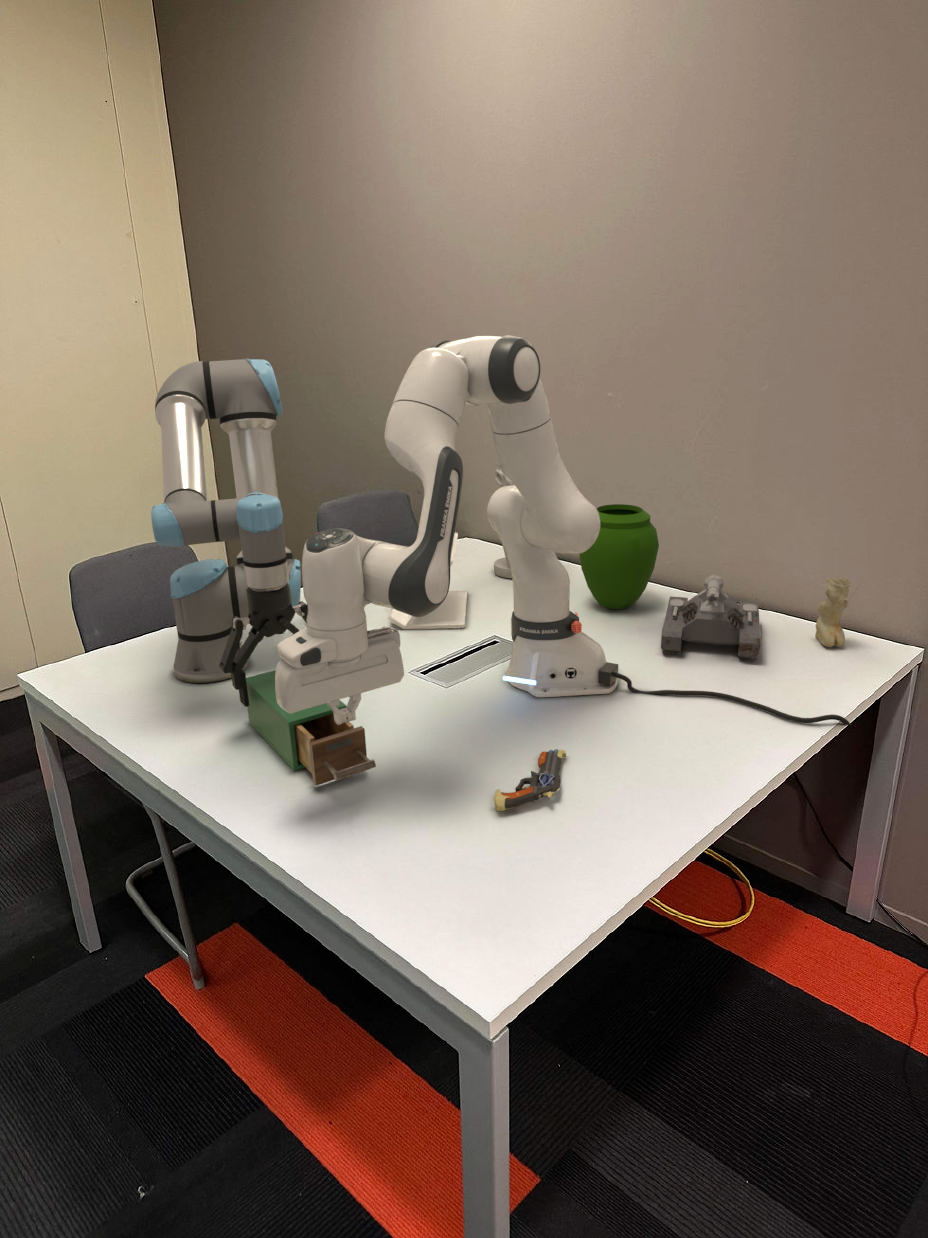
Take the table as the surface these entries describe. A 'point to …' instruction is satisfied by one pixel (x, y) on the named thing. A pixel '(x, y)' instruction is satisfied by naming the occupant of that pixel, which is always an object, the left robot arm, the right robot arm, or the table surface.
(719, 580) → the toy
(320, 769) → the drawer
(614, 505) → the vase
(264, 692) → the cabinet
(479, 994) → the table surface
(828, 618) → the sculpture
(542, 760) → the toy gun
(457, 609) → the tablet stand
